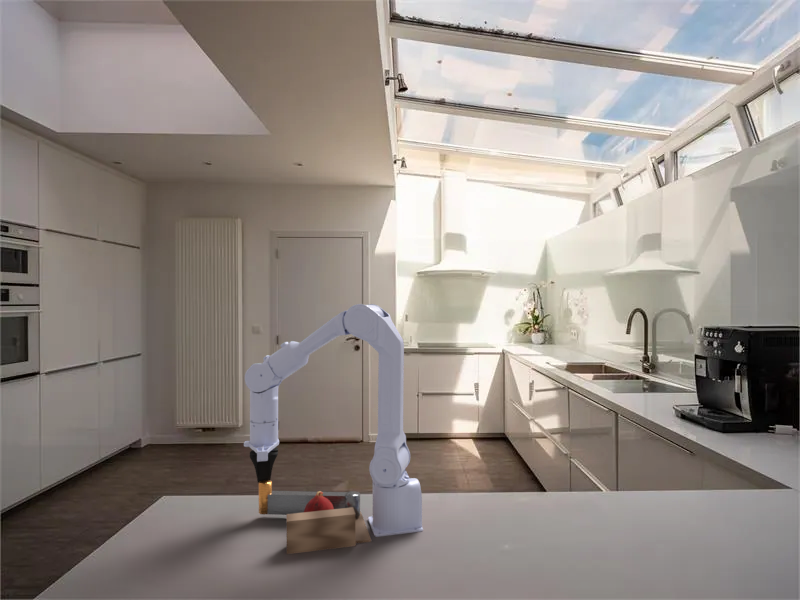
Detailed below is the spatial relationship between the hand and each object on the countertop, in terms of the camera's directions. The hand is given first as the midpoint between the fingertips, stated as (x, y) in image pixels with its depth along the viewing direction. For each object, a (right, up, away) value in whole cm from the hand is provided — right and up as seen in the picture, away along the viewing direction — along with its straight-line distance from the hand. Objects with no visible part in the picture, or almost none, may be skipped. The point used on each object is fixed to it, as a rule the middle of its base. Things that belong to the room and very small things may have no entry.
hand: (264, 485), depth 100 cm
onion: (+13, -6, -9) cm, 17 cm away
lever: (+10, -5, -2) cm, 11 cm away
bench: (+14, -6, -9) cm, 18 cm away
